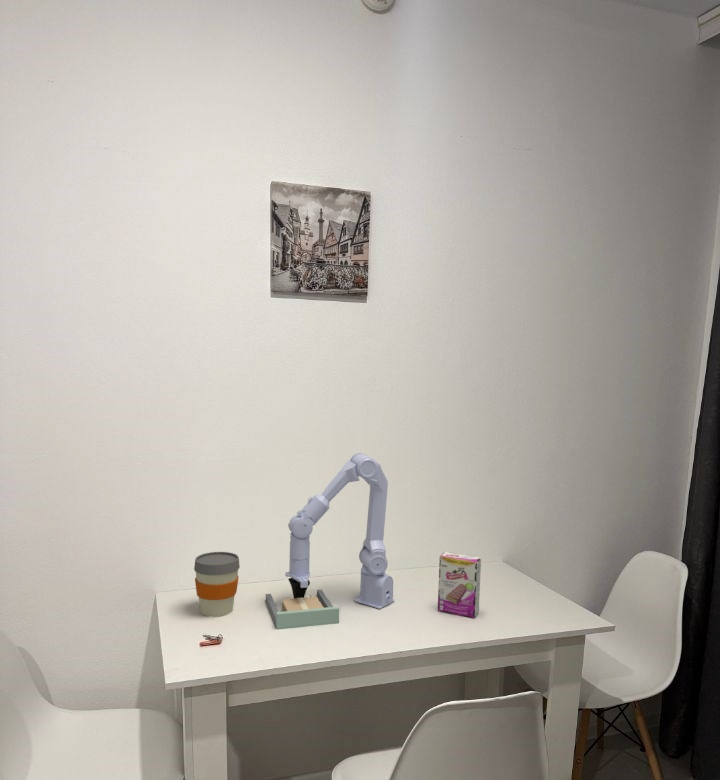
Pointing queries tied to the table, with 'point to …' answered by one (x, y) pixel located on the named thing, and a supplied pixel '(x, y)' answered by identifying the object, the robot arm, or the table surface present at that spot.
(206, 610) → the reusable coffee cup
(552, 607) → the table surface
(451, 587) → the candy bar box
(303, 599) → the carton
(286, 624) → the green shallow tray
